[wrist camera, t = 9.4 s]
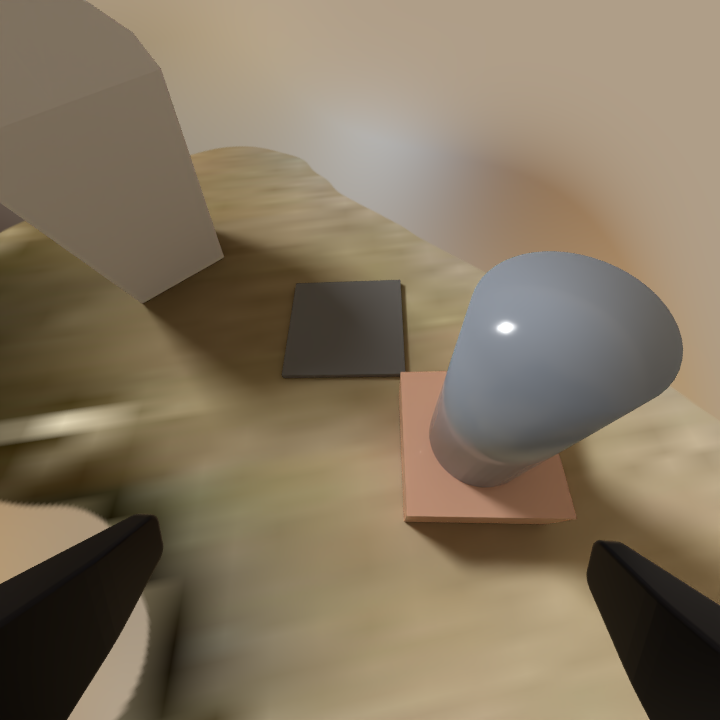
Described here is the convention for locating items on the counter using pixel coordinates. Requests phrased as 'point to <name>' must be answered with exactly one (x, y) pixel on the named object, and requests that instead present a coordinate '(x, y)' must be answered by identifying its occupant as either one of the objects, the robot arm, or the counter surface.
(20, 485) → the counter surface
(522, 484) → the salmon flat square slab
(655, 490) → the counter surface
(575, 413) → the grey domed cylinder
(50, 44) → the soap bottle
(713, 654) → the robot arm
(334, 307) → the mat
